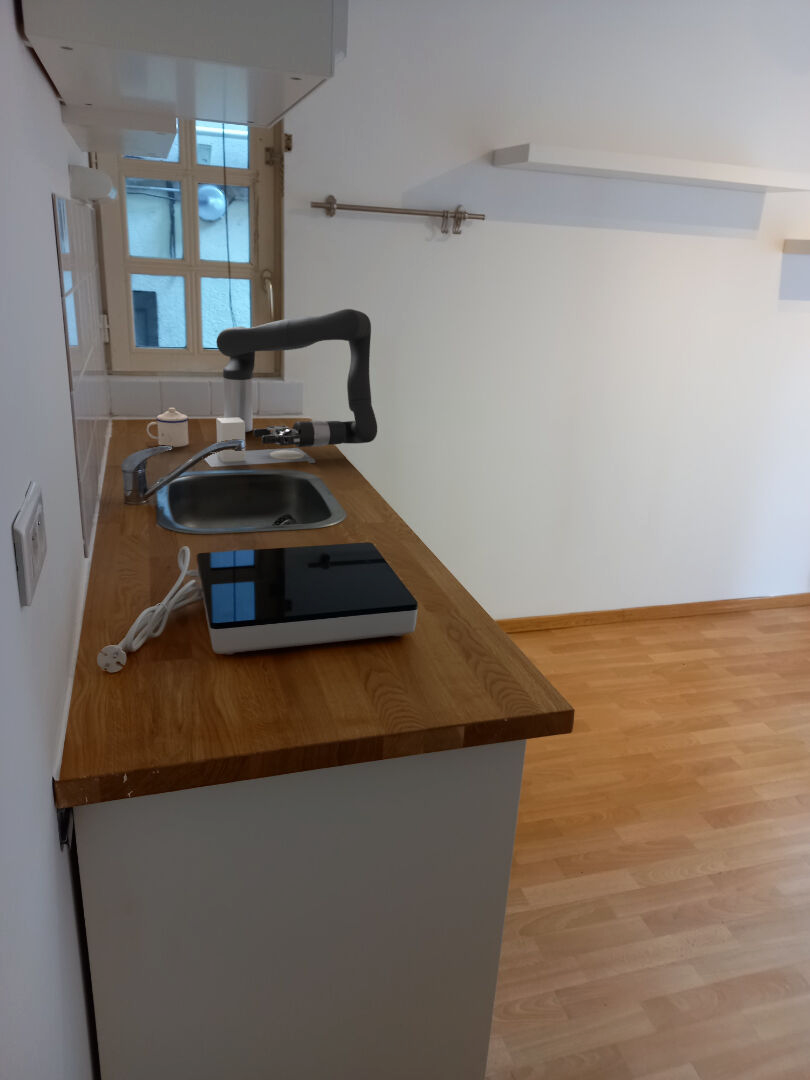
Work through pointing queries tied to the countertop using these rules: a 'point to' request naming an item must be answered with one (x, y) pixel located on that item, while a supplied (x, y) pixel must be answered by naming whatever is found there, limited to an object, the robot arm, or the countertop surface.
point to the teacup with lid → (171, 428)
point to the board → (263, 457)
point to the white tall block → (230, 437)
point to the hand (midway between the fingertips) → (257, 436)
